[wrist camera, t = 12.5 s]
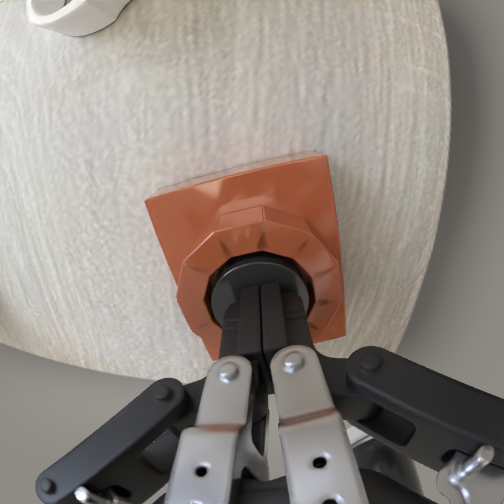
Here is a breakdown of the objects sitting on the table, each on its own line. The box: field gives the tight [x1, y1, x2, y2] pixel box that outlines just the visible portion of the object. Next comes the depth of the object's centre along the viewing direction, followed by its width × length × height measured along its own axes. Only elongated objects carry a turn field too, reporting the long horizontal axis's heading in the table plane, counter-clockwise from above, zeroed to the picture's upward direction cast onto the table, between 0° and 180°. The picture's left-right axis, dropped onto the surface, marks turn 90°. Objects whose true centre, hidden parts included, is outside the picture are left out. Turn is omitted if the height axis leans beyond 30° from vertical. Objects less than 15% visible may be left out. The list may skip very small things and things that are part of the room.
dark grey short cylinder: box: [211, 250, 309, 327], centre depth 12 cm, size 4×4×2 cm
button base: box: [145, 151, 346, 361], centre depth 13 cm, size 10×8×4 cm
